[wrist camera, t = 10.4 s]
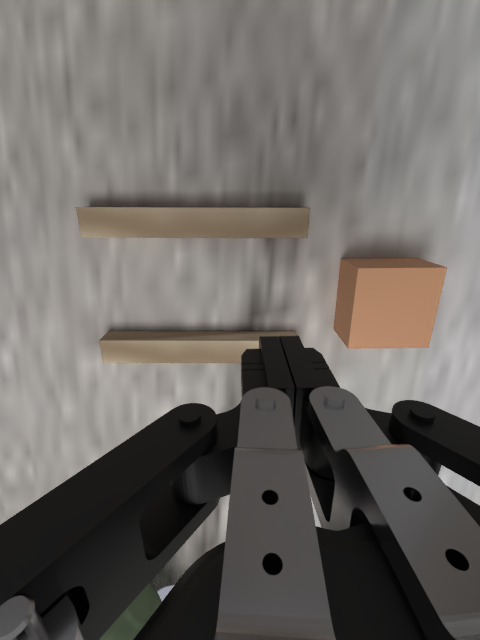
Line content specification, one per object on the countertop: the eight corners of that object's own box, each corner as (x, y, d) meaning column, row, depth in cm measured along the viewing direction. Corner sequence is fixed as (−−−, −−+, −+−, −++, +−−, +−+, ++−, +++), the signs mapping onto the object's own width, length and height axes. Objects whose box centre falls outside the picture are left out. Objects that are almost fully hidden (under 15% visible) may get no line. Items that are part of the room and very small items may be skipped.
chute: (89, 206, 23) (75, 207, 21) (304, 207, 23) (309, 208, 21) (112, 351, 27) (103, 362, 25) (293, 352, 27) (297, 363, 25)
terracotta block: (340, 258, 25) (357, 268, 21) (415, 257, 25) (447, 267, 21) (332, 328, 27) (348, 348, 23) (402, 327, 27) (428, 347, 23)
